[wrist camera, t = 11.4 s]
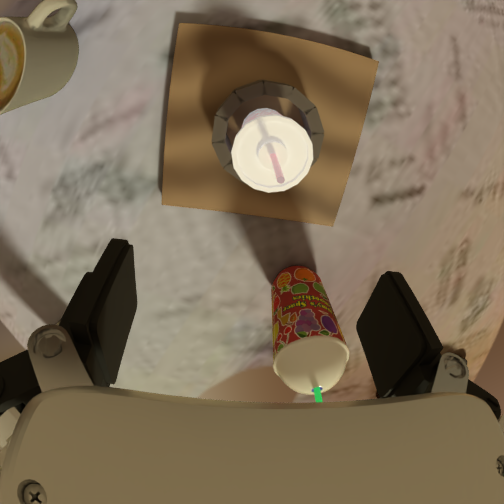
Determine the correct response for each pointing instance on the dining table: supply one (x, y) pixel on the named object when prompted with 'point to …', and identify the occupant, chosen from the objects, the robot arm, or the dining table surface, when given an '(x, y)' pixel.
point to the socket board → (257, 97)
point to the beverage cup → (271, 151)
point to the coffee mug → (36, 54)
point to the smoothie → (305, 333)
